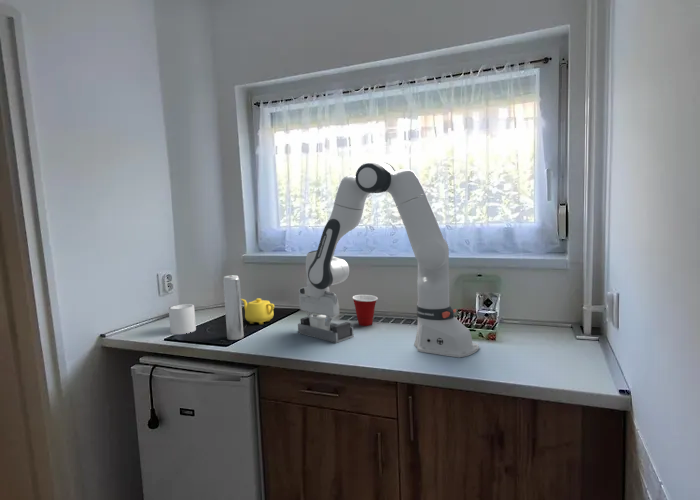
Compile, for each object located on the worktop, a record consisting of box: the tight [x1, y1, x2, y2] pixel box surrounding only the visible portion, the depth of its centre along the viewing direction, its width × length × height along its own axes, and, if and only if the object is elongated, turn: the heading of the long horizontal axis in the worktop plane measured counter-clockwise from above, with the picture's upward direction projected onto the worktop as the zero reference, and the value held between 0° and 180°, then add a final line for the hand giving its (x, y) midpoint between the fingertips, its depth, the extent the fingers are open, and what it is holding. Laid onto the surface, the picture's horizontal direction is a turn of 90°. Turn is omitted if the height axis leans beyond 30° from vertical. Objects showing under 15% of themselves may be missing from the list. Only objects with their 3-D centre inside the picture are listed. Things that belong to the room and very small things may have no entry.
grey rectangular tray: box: [297, 314, 355, 344], centre depth 174 cm, size 22×10×6 cm, turn 46°
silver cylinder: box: [222, 274, 245, 341], centre depth 174 cm, size 6×6×25 cm
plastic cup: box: [352, 294, 379, 327], centre depth 186 cm, size 11×11×12 cm
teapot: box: [241, 297, 275, 325], centre depth 198 cm, size 18×11×11 cm, turn 65°
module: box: [310, 314, 330, 331], centre depth 175 cm, size 5×6×6 cm
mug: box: [168, 303, 197, 335], centre depth 189 cm, size 14×10×11 cm
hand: (319, 324), depth 175 cm, fingers open, 8 cm apart
